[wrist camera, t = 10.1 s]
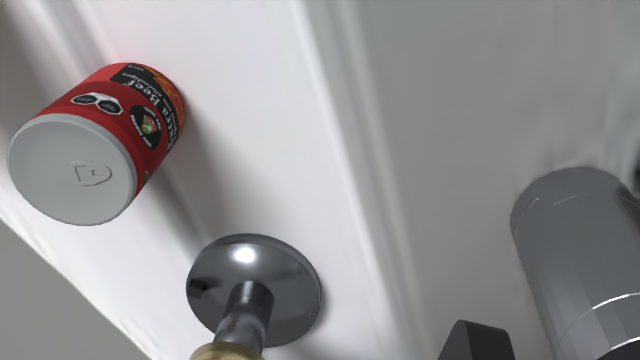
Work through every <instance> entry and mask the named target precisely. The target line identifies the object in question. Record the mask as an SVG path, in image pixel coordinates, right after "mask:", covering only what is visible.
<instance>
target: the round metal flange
mask: <svg viewBox="0 0 640 360" xmlns="http://www.w3.org/2000/svg"><path fill="white" fill-rule="evenodd" d="M186 294H187V299H188V302H189V305H190V307H191V309H192V311H193V313H194V314H195V316H196V317H197V318H198V320H199V321H200V322H201V323H202V324H203V325H204V326H205V327H206V328H208V329H209V330H210V331H211V332H213V333H214V334H215V337H214V340H213V342H218V341H227V342H234V343H238V344H241V345H244V346H246V347H249V348H251V349H252V350H254V351H255V352H257V353H258V354H259V355H261V354H262V350H263V348H269V347H277V346H282V345H285V344H288V343H290V342H293V341H295V340H297V339H298V338H300V337H301V336H303V335H304V334H305V333H306V332H307V331H308V330H309V329H310V328H311V327H312V325H313V323H314V322H315V320H316V317H317V315H318V310H319V305H320V298H321V287H320V282H319V278H318V276H317V274H316V271H315V269H314V268H313V266H312V265H311V263H310V262H309V261H308V260H307V259H306V258H305V257H304V256H303V255H302V254H301V253H300V252H299V251H297V250H296V249H295V248H293V247H292V246H290V245H288V244H286V243H285V242H282V241H280V240H278V239H275V238H272V237H269V236H264V235H259V234H235V235H230V236H226V237H223V238H220V239H218V240H216V241H214V242H212V243H211V244H209V245H208V246H207V247H205V248H204V249H203V250H202V251H201V252H200V253H199V255H198V256H197V258H196V260H195V262H194V264H193V266H192V268H191V270H190V272H189V275H188V278H187V282H186Z"/></svg>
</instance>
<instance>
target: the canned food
mask: <svg viewBox="0 0 640 360" xmlns="http://www.w3.org/2000/svg"><path fill="white" fill-rule="evenodd" d="M183 126H184V106H183V102H182V99H181V96H180V94H179V92H178V91H177V89H176V87H175V86H174V85H173V84H172V83H171V81H170V80H169V79H168V78H166V77H165V76H164V75H163V74H162V73H160V72H158V71H157V70H155V69H153V68H151V67H148V66H145V65H143V64H137V63H117V64H112V65H108V66H106V67H103V68H101V69H99V70H98V71H97V72H95V73H94V74H92V75H91V76H90V77H88V78H87V79H86V80H84V81H83V82H81V83H80V84H79V85H77V86H76V87H74V88H73V89H72V90H70V91H69V92H68V93H66V94H65V95H63V96H62V97H61V98H59V99H58V100H56V101H55V102H54V103H52V104H51V105H50V106H48V107H47V108H45V109H44V110H43V111H41V112H40V113H39V114H37V115H36V116H35V117H33V118H32V119H31V120H30V121H28V122H27V123H26V124H24V125H23V126H22V127H21V128H20V130H18V131H17V132H16V134H15V135H14V136H13V138H12V139H11V141H10V144H9V146H8V151H7V166H8V171H9V174H10V177H11V179H12V181H13V183H14V185H15V186H16V188H17V190H18V191H19V192H20V194H21V195H22V196H23V197H24V199H26V200H27V201H28V202H29V203H30V204H31V205H32V206H33V207H34V208H36V209H37V210H39V211H40V212H42V213H43V214H45V215H47V216H49V217H51V218H53V219H55V220H57V221H60V222H63V223H66V224H71V225H77V226H94V225H101V224H103V223H106V222H109V221H111V220H113V219H114V218H116V217H118V216H119V215H120V214H121V213H122V212H123V211H124V210H125V209H126V208H127V207H128V206H129V205H130V204H131V203H132V201H133V200H134V198H135V197H136V196H137V195H138V194H139V192H140V191H141V189H142V188H143V187H144V185H145V184H146V183H147V181H148V180H149V178H150V177H151V176H152V174H153V173H154V172H155V170H156V169H157V167H158V166H159V165H160V163H161V162H162V161H163V159H164V158H165V156H166V155H167V154H168V152H169V151H170V150H171V148H172V147H173V145H174V144H175V143H176V141H177V140H178V138H179V136H180V135H181V133H182V129H183Z"/></svg>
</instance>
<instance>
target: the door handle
mask: <svg viewBox="0 0 640 360" xmlns="http://www.w3.org/2000/svg"><path fill="white" fill-rule="evenodd" d="M190 360H264V358H263V357H262V356H261V355H259V354H258V353H257V352H255V351H254V350H252V349H251V348H249V347H246V346H244V345H241V344H238V343H234V342H227V341H218V342H211V343H208V344H205V345H203V346H201V347H199V348H198V349H197V350H195V351H194V353H193V354H192V355H191V357H190Z"/></svg>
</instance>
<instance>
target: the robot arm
mask: <svg viewBox="0 0 640 360" xmlns="http://www.w3.org/2000/svg"><path fill="white" fill-rule="evenodd" d="M510 226H511V231H512V236H513V239H514V242H515V245H516V248H517V251H518V254H519V257H520V260H521V263H522V266H523V269H524V272H525V275H526V278H527V281H528V284H529V287H530V290H531V293H532V296H533V299H534V301H535V304H536V307H537V310H538V313H539V316H540V319H541V322H542V325H543V328H544V331H545V334H546V337H547V340H548V343H549V346H550V349H551V352H552V355H553V357H554V360H640V199H638V198H635V197H633V196H632V194H631V193H630V191H629V190H628V189H627V187H626V186H625V185H624V184H623V183H622V182H621V181H620V180H619V179H618V178H616V177H615V176H613V175H611V174H609V173H607V172H605V171H602V170H598V169H594V168H585V167H576V168H566V169H562V170H559V171H555V172H552V173H550V174H548V175H546V176H544V177H542V178H540V179H538V180H537V181H536V182H534V183H533V184H531V185H530V186H529V187H528V188H527V189H526V190H525V191H524V192H523V193H522V194H521V195H520V197H519V199H518V200H517V202H516V203H515V205H514V208H513V211H512V214H511V223H510ZM438 360H515V357H514V353H513V349H512V345H511V341H510V338H509V335H508V333H507V332H506V331H505V330H503V329H499V328H495V327H491V326H486V325H482V324H478V323H474V322H469V321H465V320H458V321H457V322H456V323H455V325H454V326H453V328H452V330H451V332H450V334H449V337H448V339H447V341H446V343H445V345H444V347H443V349H442V351H441V353H440V355H439V358H438Z"/></svg>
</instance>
